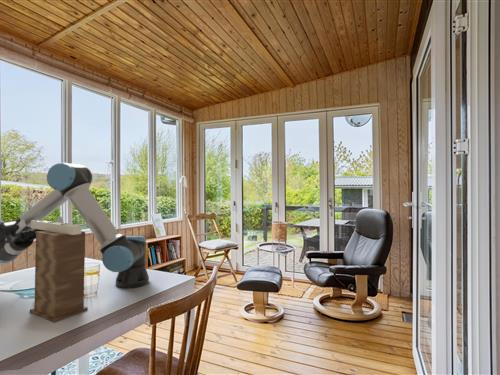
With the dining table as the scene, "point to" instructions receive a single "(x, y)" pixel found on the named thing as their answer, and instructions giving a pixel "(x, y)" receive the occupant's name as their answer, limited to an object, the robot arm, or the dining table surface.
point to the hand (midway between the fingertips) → (43, 221)
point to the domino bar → (56, 227)
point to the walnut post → (59, 275)
